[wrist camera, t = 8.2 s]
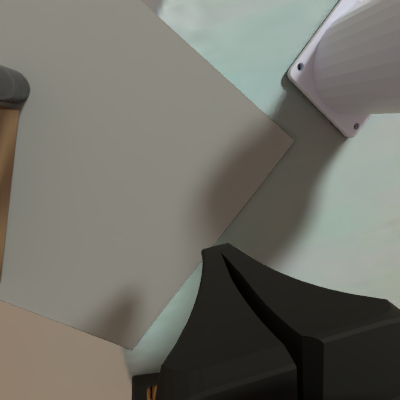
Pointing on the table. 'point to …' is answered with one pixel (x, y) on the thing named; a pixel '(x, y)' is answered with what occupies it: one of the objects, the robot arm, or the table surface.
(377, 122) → the table surface
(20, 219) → the mat
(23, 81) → the hinge post
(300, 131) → the table surface
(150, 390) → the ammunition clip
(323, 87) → the robot arm
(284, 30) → the table surface
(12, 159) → the brown rectangular bar
